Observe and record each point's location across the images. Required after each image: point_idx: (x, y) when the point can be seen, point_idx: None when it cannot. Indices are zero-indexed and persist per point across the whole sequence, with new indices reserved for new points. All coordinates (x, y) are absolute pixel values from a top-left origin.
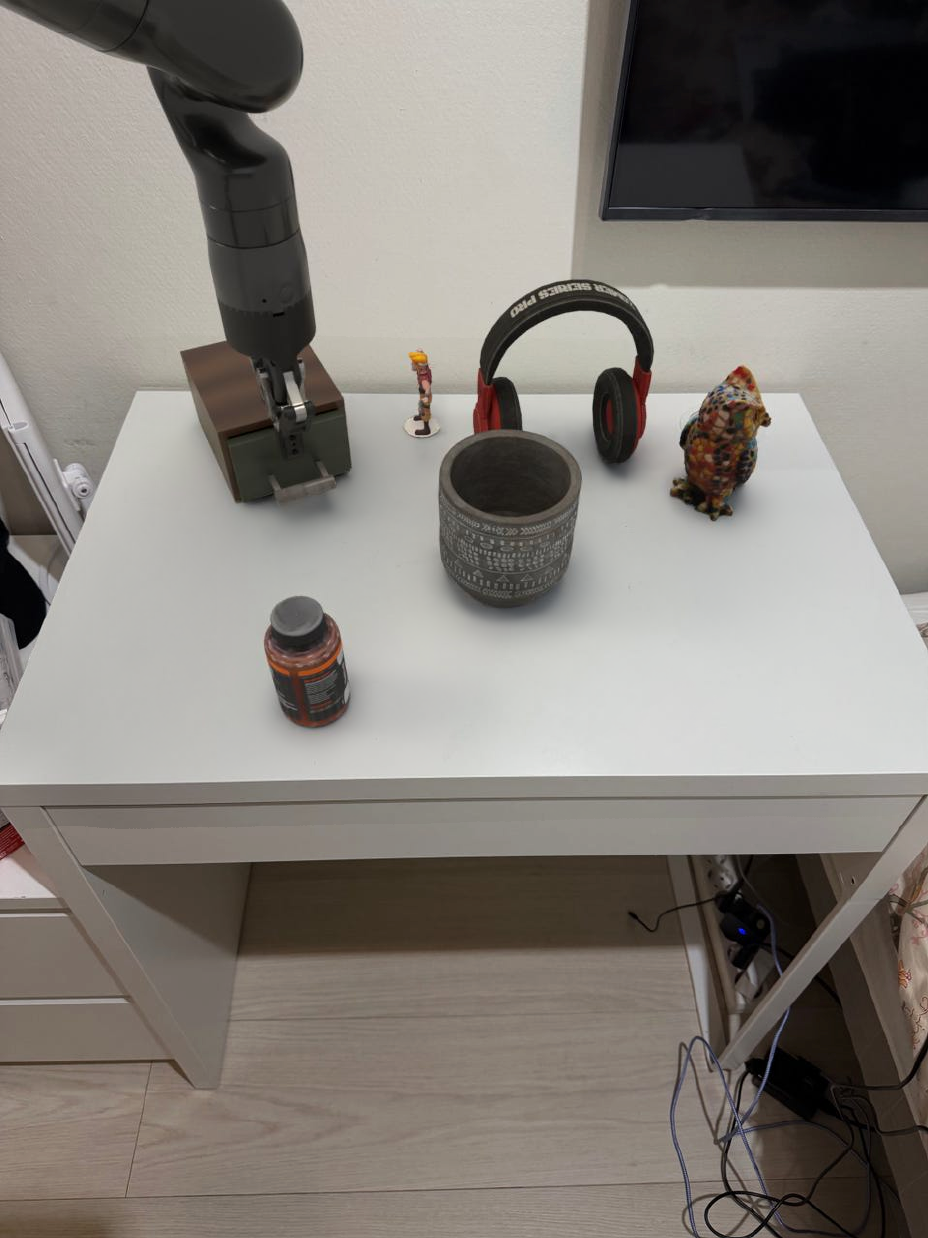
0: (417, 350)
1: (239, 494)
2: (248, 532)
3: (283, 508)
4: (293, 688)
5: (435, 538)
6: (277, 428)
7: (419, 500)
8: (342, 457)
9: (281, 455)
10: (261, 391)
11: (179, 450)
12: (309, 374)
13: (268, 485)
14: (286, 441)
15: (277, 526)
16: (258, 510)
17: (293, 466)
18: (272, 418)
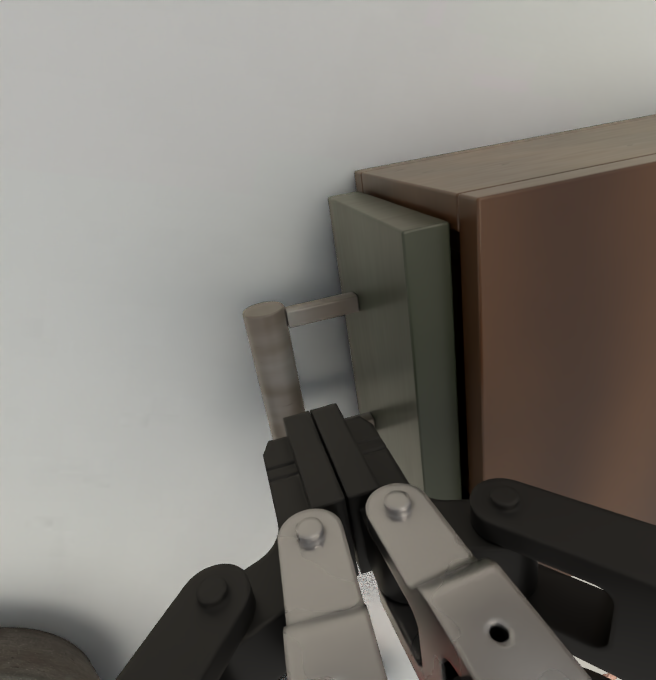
0: (610, 675)
1: (363, 189)
2: (228, 193)
3: (299, 292)
4: None
5: (130, 585)
6: (288, 537)
7: (253, 560)
8: None
9: (296, 418)
10: (451, 647)
11: (607, 32)
12: (633, 517)
13: (347, 281)
14: (275, 504)
15: (236, 271)
16: (308, 229)
17: (369, 368)
18: (368, 516)
